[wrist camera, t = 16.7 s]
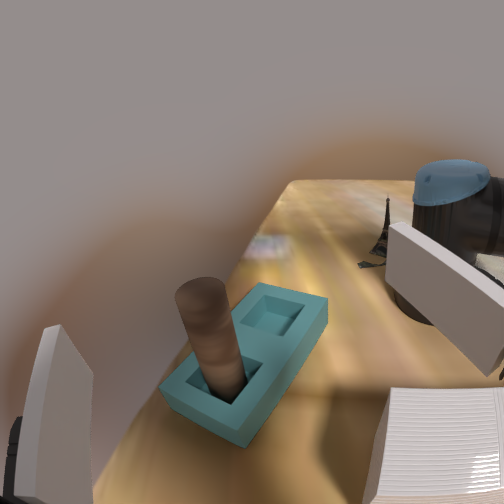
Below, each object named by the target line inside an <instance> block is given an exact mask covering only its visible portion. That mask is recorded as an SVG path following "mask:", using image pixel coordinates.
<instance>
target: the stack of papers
mask: <svg viewBox="0 0 504 504" xmlns="http://www.w3.org/2000/svg"><path fill="white" fill-rule="evenodd" d="M362 504H504V387H497V388H473V389H420V388H395V387H391V389H390V392H389V395H388V399H387V402H386V405H385V408H384V411H383V414H382V417H381V420H380V423H379V426H378V429H377V431H376V434H375V437H374V444H373V450H372V455H371V461H370V466H369V472H368V477H367V482H366V486H365V491H364V495H363V500H362Z"/></svg>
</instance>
